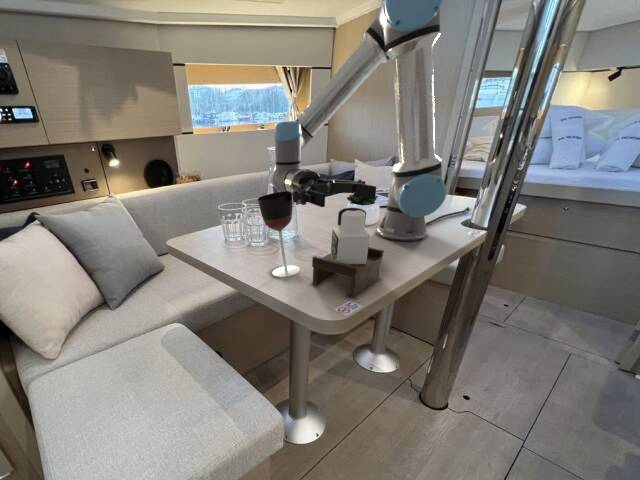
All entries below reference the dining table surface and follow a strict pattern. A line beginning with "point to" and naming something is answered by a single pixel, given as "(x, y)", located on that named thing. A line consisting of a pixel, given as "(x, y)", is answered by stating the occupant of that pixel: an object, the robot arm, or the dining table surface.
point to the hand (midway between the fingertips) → (349, 196)
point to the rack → (349, 270)
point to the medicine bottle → (350, 237)
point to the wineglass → (278, 222)
